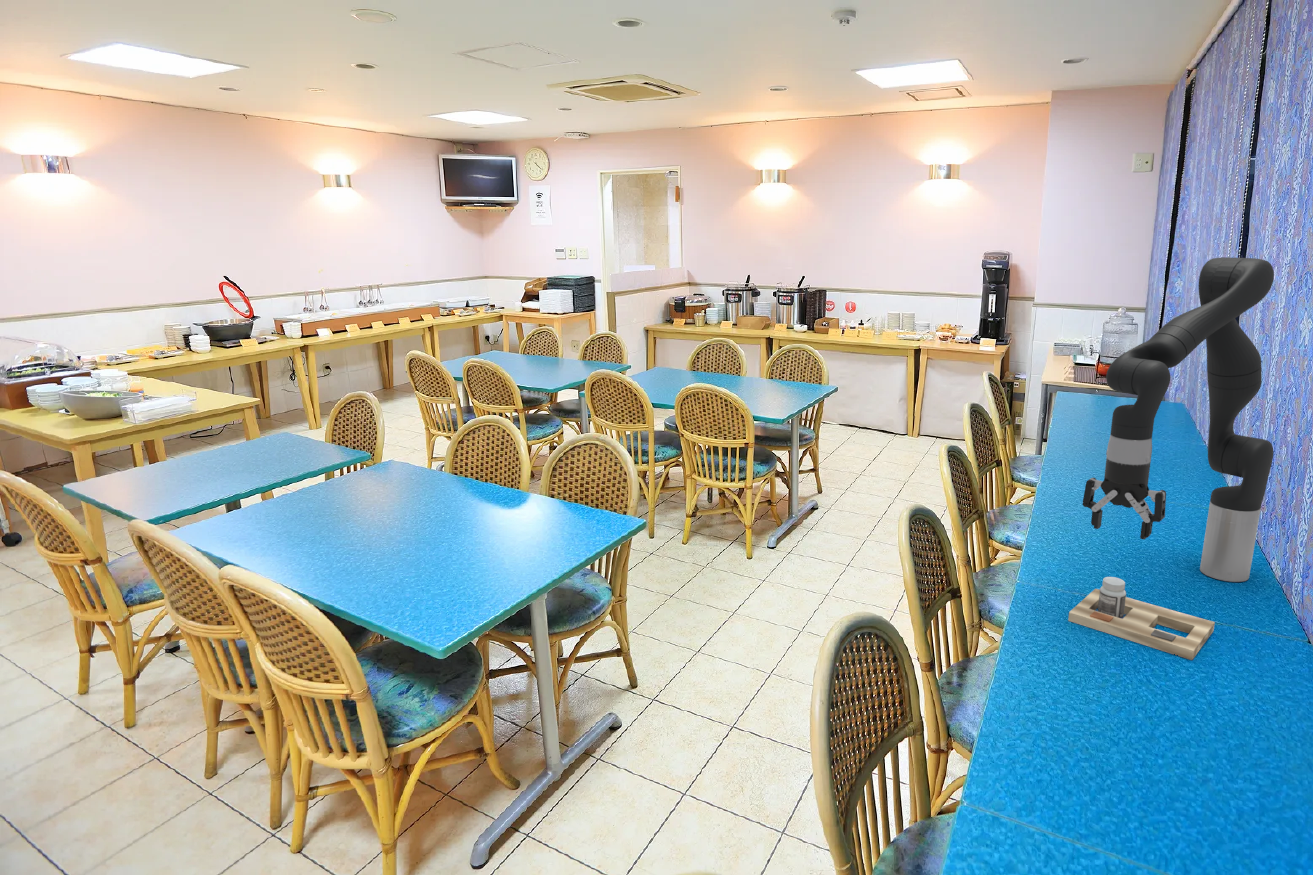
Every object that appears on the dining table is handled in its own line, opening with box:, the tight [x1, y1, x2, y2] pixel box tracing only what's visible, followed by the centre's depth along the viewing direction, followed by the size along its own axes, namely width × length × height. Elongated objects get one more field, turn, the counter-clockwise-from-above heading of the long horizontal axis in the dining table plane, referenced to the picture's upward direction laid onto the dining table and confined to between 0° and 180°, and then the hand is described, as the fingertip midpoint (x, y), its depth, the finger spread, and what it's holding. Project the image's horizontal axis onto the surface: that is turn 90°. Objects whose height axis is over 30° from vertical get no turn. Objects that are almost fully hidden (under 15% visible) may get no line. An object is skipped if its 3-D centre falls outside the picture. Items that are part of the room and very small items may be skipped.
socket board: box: [1067, 588, 1216, 661], centre depth 153 cm, size 15×22×2 cm
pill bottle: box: [1097, 576, 1127, 619], centre depth 157 cm, size 5×5×8 cm
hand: (1119, 532), depth 153 cm, fingers open, 8 cm apart
